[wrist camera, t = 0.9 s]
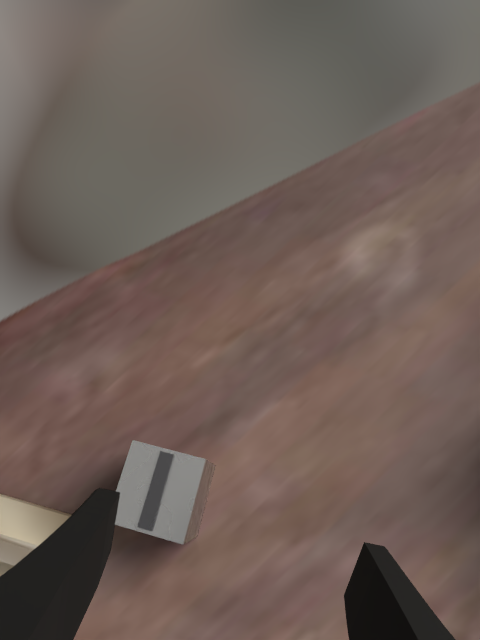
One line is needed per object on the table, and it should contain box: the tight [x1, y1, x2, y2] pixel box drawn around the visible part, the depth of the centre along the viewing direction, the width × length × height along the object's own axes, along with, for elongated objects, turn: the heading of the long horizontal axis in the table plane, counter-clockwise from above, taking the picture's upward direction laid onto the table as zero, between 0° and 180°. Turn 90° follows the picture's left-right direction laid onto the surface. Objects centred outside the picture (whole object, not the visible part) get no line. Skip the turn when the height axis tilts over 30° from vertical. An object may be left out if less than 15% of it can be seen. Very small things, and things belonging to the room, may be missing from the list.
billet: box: [115, 440, 216, 544], centre depth 26 cm, size 4×4×5 cm
